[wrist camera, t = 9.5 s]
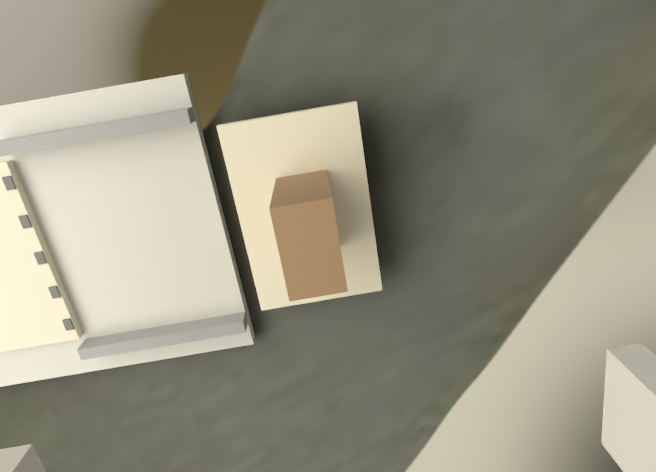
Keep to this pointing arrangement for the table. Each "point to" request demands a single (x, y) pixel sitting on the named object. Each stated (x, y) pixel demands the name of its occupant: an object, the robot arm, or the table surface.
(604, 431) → the robot arm
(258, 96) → the table surface
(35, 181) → the ticket board
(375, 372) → the table surface
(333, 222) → the tabbed cream panel
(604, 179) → the table surface
